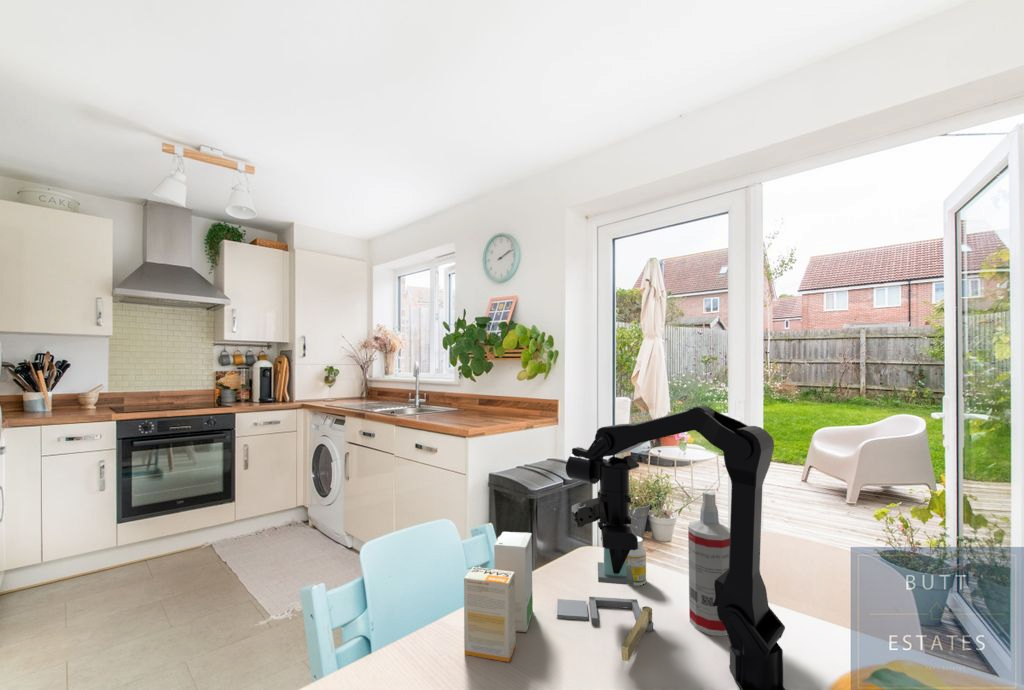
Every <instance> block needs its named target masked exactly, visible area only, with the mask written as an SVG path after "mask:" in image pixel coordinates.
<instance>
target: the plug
mask: <svg viewBox="0 0 1024 690" xmlns="http://www.w3.org/2000/svg"><path fill="white" fill-rule="evenodd" d="M597 582H598V583H601V584H602V583H603V584H611V585H612V584H614V585H624V586H625V585H626V586H634V580H633V575H632V570H631V565H627V564H626V560H625V562H624V564H623V566H622V569H621V571H620V573H619V574H614V573H613V568H612V563H611V557H610V552H609V549H606V548H603V562H601V561H597Z"/></svg>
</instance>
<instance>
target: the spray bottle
mask: <svg viewBox="0 0 1024 690" xmlns="http://www.w3.org/2000/svg"><path fill="white" fill-rule="evenodd" d="M699 519H700V520H696V521H693V522H689V525H688V527H687V528H688V529H687V530H688V531H687V532H688V594H689V595H688V596H689V597H688V600H689V603H688V604H689V605H688V606H689V615H688V616H689V623H690V624H691V625H692V626H693V627H694V628H695V629H696V630H698V631H700V632H702V633H704V634H706V635H708V636H718V637H724V636H728V634H727V631H726V628H725V626H724V625H723V623H722V622H721V621H720V620H719V618H718V615H717V606H713V603H714V601H715V587H714V583H715V580H716V579H717V578H718V577H719V576H721V575H722V574H723V573H724V572H725V571H726V570H728V569H729V549H730V527H728V526H726V525H724V524H722V523H720V520H719V510H718V507H717V504H716V492H714V491H706V492H705V491H704V492H703V491H702V504H701V506H700V518H699Z"/></svg>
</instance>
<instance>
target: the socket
mask: <svg viewBox="0 0 1024 690" xmlns="http://www.w3.org/2000/svg"><path fill="white" fill-rule="evenodd" d="M588 605H589V613H590V614H589V615H590V623H591V625H594V626H595V625H596V626H598V625H599V616H598V608H597V607H605V608H606V607H609V608H621V607H627V608H626V609H632V612H633V616H634V620H636V621H635V623H636V622H637V620H638V618H639V617H640V615H641V613H642V610H641V608H640V605H639V602H638V599H636V598H635V599H633V598H620V597H619V598H618V597H600V596H589V597H588ZM653 631H654V622H653V621H652V623H650V624H648V626H647V628H646V630H645V632H647V633H651V632H653Z"/></svg>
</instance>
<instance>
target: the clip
mask: <svg viewBox="0 0 1024 690" xmlns="http://www.w3.org/2000/svg"><path fill="white" fill-rule="evenodd" d="M652 622H653V609H652V607H650V606H647V605H645V606H642V607H641V615H640V617H639V618H638V620H637V622H636V621H635V622H634V623H635V624H634V625H633V626H632V628H631V630H630V632H629V633H628V635H627V637H626V639H625V641H624V642H623V643H622V645H621V660H622V661H624V662H628V663H629V661H630V659H631V657H632V656H633V654H634V651H635V650H636V648H637V646H638V645H639V642H640V641H641V639H642V637H643V635H644V633H645V632H646V631H645V630H646V628H647V626H648V624H650V623H652Z"/></svg>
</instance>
